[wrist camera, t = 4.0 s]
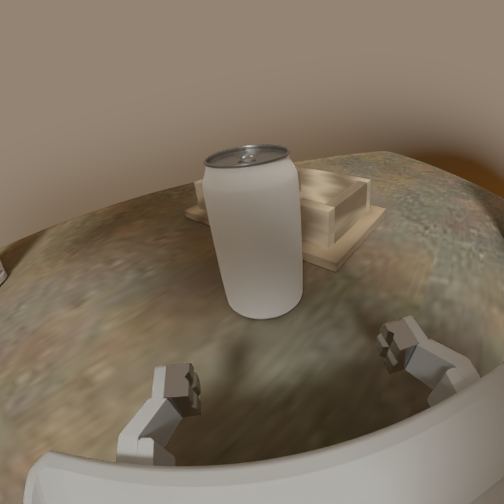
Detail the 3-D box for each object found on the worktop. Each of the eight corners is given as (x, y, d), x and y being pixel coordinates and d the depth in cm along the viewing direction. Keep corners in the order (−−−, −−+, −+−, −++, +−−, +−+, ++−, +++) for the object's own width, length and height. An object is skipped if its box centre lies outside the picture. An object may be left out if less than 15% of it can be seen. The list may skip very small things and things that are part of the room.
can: (297, 268, 26) (289, 140, 20) (308, 318, 21) (304, 160, 14) (229, 275, 27) (205, 150, 20) (225, 326, 21) (187, 174, 15)
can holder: (185, 216, 40) (177, 184, 37) (250, 184, 48) (246, 157, 45) (335, 272, 25) (338, 224, 22) (385, 215, 33) (388, 179, 30)
